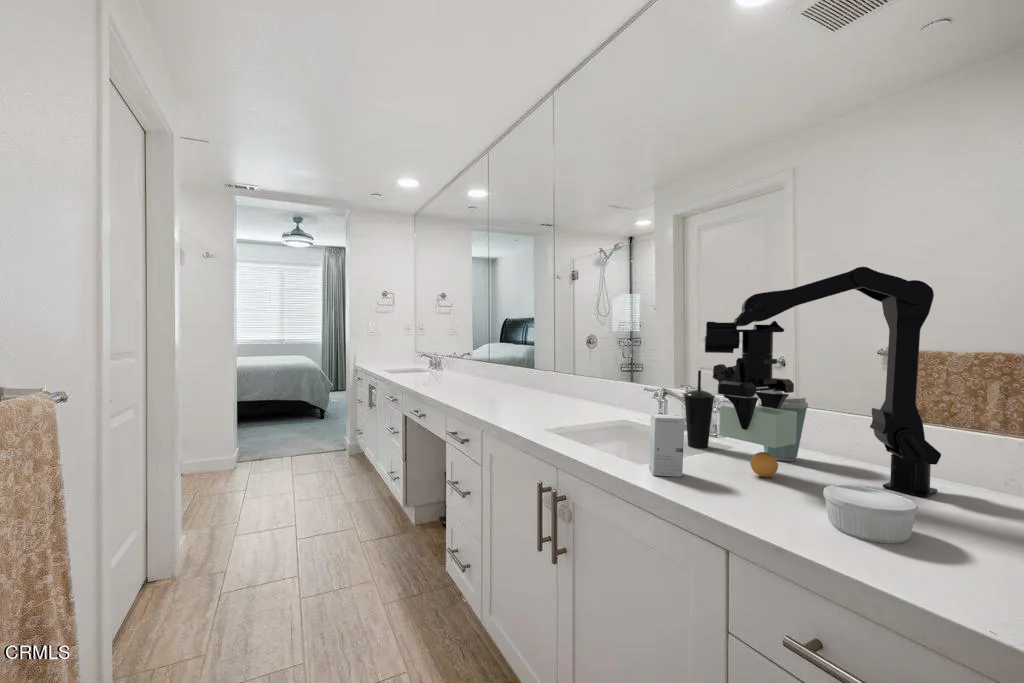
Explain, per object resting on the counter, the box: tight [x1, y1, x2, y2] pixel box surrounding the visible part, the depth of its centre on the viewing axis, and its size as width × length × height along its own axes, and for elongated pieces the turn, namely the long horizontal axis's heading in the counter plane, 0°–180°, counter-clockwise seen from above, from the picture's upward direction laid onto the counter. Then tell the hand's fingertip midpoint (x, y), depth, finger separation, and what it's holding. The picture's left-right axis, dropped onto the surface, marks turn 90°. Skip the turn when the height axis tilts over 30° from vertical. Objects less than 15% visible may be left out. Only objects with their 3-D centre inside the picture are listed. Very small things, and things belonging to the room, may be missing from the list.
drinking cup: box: [683, 370, 716, 450], centre depth 119 cm, size 8×8×20 cm
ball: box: [750, 451, 779, 478], centre depth 94 cm, size 5×5×5 cm
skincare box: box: [648, 413, 685, 478], centre depth 95 cm, size 6×4×12 cm
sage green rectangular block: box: [719, 403, 797, 448], centre depth 96 cm, size 8×12×6 cm, turn 31°
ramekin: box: [823, 484, 919, 544], centre depth 68 cm, size 11×11×5 cm
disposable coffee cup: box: [757, 396, 809, 462], centre depth 109 cm, size 11×11×15 cm
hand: (755, 427), depth 96 cm, fingers closed on sage green rectangular block, 8 cm apart
